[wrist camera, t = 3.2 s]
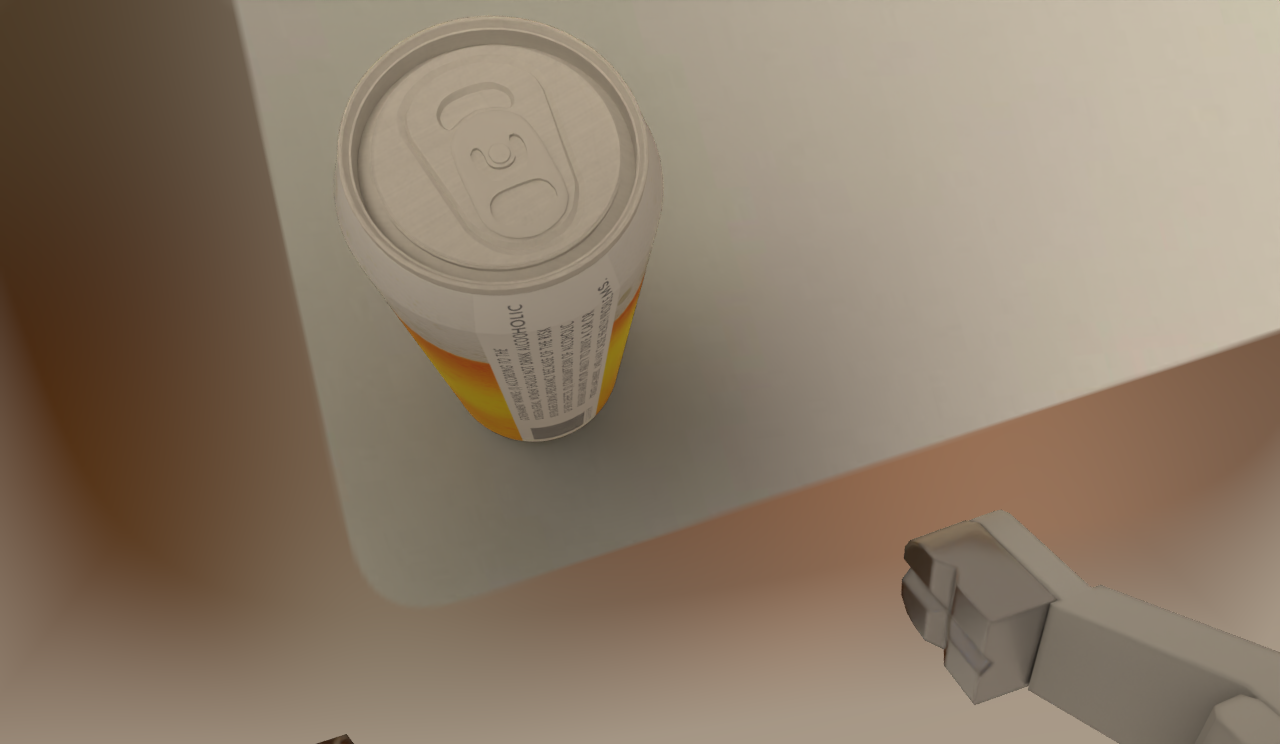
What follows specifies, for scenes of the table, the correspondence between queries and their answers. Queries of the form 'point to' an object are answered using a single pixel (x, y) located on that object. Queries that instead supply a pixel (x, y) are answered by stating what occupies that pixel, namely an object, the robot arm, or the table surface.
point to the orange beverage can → (503, 213)
